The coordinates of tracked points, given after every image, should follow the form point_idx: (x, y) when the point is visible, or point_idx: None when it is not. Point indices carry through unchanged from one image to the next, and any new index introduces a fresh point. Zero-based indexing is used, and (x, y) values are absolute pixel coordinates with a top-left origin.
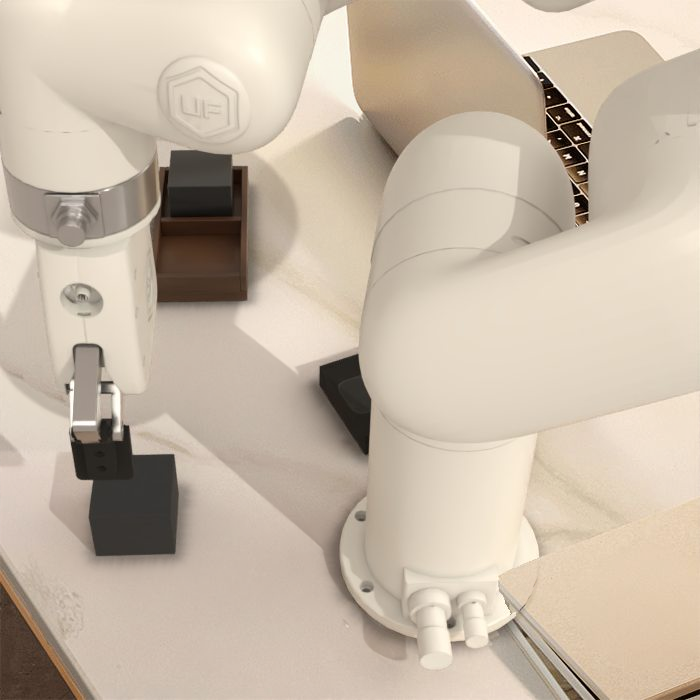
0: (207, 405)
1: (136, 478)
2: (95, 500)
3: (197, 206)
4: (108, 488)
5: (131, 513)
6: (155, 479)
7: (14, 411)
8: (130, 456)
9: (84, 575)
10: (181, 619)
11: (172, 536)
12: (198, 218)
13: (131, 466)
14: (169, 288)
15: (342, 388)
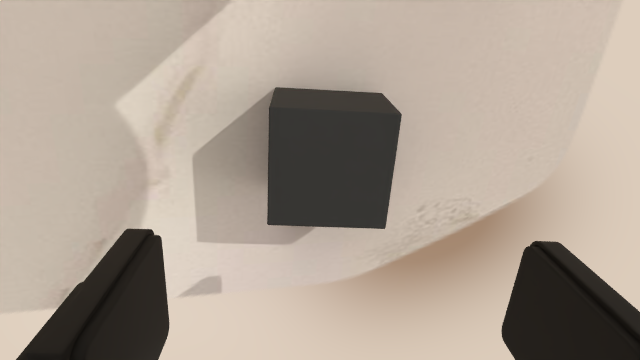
0: (88, 38)
1: (320, 166)
2: (355, 221)
3: None
4: (335, 205)
5: (389, 172)
6: (324, 137)
7: None
8: (605, 285)
9: (395, 201)
10: (486, 85)
11: (390, 102)
12: None
13: (579, 262)
14: None
15: None
